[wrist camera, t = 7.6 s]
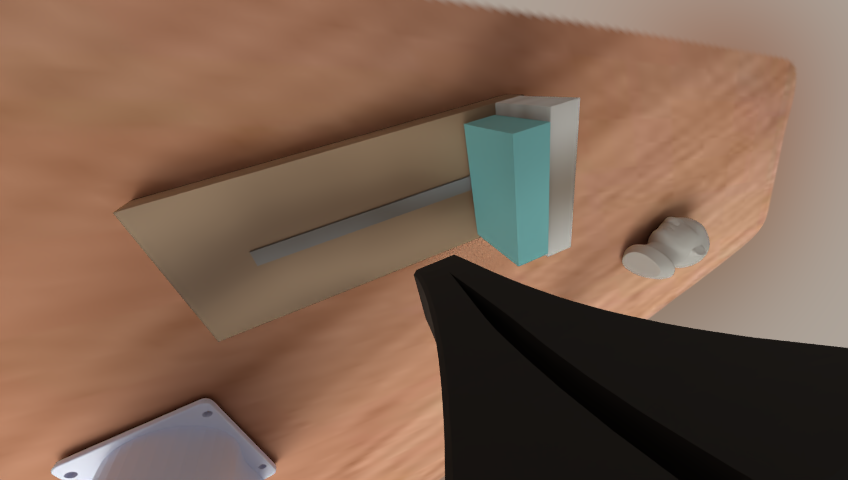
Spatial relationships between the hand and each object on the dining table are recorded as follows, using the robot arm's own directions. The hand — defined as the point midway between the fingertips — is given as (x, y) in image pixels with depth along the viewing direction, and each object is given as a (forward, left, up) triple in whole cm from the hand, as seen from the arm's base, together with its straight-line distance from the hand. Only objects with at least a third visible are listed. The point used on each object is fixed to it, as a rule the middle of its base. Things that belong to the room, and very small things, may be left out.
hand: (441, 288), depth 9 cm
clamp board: (0, 0, -9) cm, 9 cm away
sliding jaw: (0, -6, -8) cm, 10 cm away
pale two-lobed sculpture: (-13, -24, -10) cm, 29 cm away
